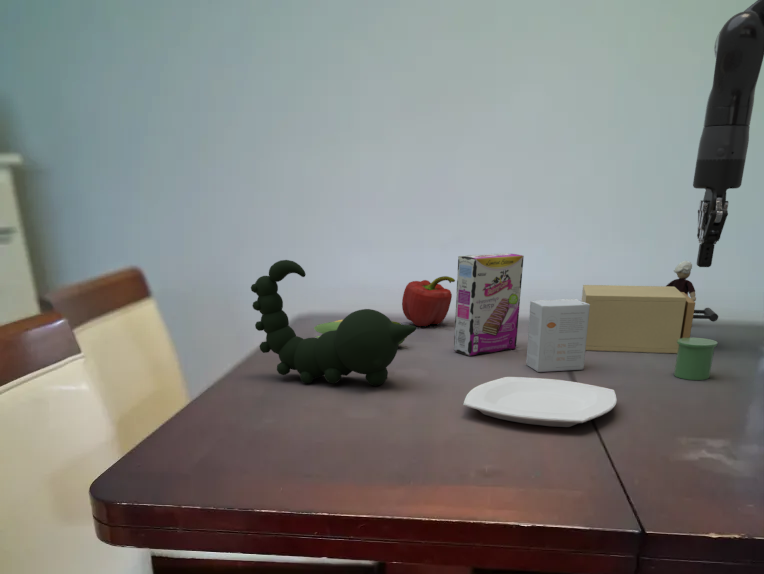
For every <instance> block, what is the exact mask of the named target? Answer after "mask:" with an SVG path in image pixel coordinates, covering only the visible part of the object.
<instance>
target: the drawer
mask: <svg viewBox="0 0 764 574" xmlns="http://www.w3.org/2000/svg"><path fill="white" fill-rule="evenodd" d="M681 293H682V294H683V295H684V296H685V297H686V303H685V310H684V316H683V323H682V329H681V335H680V338H691V332H692V325H693V321H694V319H695V320H696V319H697V320H709V321H710V322H713V323H714V322H717V321H718V319H719V314H718V313H716V312H715V311H714V310H713V309H711V307H705V308H703V309H695V308H696V301H693V300H692V299H691V297H690V295H688V296H687V295H686V294H685V293H684V292H681Z"/></svg>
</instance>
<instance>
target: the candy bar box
mask: <svg viewBox="0 0 764 574" xmlns="http://www.w3.org/2000/svg"><path fill="white" fill-rule="evenodd" d="M457 257H458V259H457V276H456V278H457V280H456V295H455V300H456V301H455V316H454V317H455V318H454V319H455V320H454V336H453V337H454V339H453V351H454V352H456V353H458V354H462V355H464V356H468V357H469V356H475V355H484V354H489V353H490V354H491V353H496V352H503V351H508V350H516V348H517V339H518V328H519V316H520V303H521V294H522V293H521V292H522V280H523V269H524V268H523V267H524V258H525V256H524V255H522V254H517V253H509V252H508V253H507V252H501V253H500V252H499V253H486V254H485V253H484V254H468V255H459V256H457Z"/></svg>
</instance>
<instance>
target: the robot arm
mask: <svg viewBox="0 0 764 574" xmlns="http://www.w3.org/2000/svg"><path fill="white" fill-rule="evenodd" d="M713 52H714V58H715V64H714V72H713V78H712V86H711V89H710V91H709V94H708V98H707V102H706V108H705V114H704V120H703V127H702V132H701V136H700V139H699V143H698V148H697V156H696V160H695V161H696V162H695V168H694V175H693V181H692V187H693V188H694V189H699V190H700V189H705V192H704V195H703V199H702V200H699V204H698V209H697V234H696V237H697V239H698V240H697V242H698V244H699V246H698V252H697V258H696V266H698V267H699V268H710V267H711V266H712V264H713V257H714V251H715V245H717V243H718V242H719V241H720V240H721V235H722V232H723V229H724V226H725V224H726V222H727V221H726V220H727V217H728V216H729V213H728V211H729V210H728V209H729V200H727V190H729V189H733V190H734V189H739V188H741V186H742V183H743V176H744V171H745V165H746V159H747V154H748V148H749V141H750V126H751V120H752V117H753V116H752V115H753V108H754V105H755V95H756V87H757V83H758V81H759V77H760V73H761V69H762V65H763V61H764V0H756V1H755V2H754V3H751V5H750V6H748V7H747V8H746V9H745V10H743V11H740V12H738V13H736V14H734V15H733V16H731V17H730V18H729V19H727V21H726V22H725V23H724V24H723V26H722V27H721V29H720V30H719V32H718V34H717V36H716V37H715V40H714V46H713Z"/></svg>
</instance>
